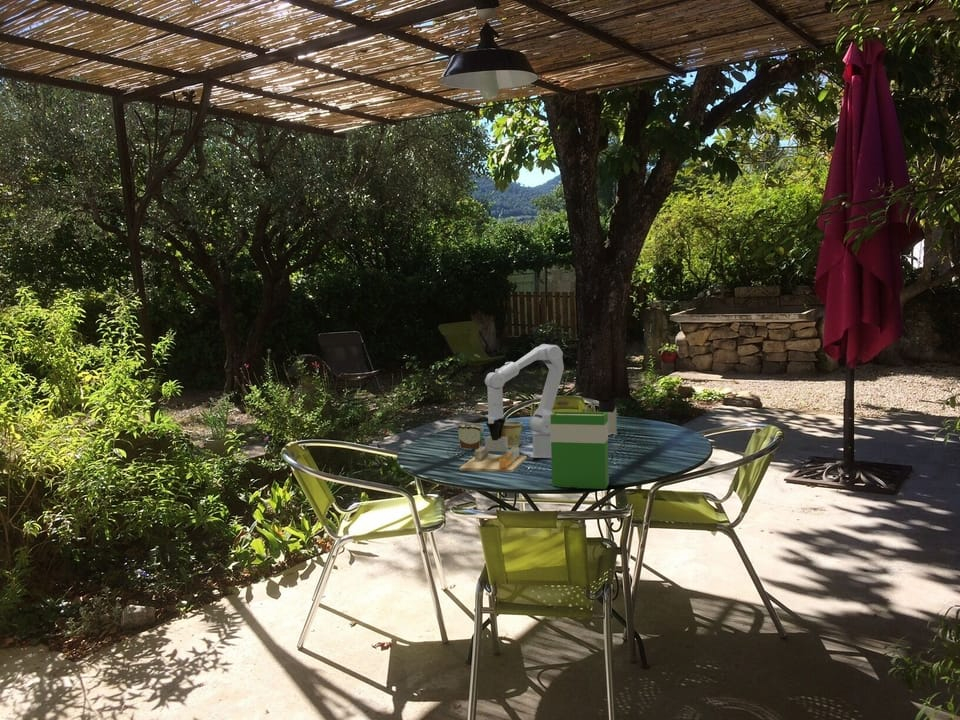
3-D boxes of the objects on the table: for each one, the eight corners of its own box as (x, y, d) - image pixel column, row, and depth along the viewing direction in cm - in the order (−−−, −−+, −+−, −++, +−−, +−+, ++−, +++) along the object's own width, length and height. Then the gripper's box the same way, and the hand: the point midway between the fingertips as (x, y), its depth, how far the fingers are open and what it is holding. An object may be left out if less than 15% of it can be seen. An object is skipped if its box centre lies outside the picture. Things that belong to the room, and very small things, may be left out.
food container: (489, 447, 317) (489, 424, 317) (482, 450, 312) (481, 426, 311) (464, 445, 324) (464, 422, 323) (457, 448, 318) (456, 424, 318)
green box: (552, 486, 250) (550, 415, 248) (556, 481, 257) (555, 411, 255) (605, 489, 245) (604, 415, 243) (608, 483, 252) (607, 412, 250)
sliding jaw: (519, 456, 293) (519, 447, 292) (506, 467, 274) (505, 458, 273) (513, 455, 293) (512, 447, 293) (499, 467, 274) (499, 458, 274)
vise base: (526, 458, 294) (526, 446, 294) (512, 472, 272) (511, 459, 272) (477, 457, 300) (477, 445, 299) (459, 470, 278) (459, 457, 277)
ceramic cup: (521, 449, 312) (520, 425, 311) (497, 448, 314) (496, 425, 313) (525, 442, 325) (524, 419, 324) (502, 442, 327) (501, 419, 326)
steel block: (507, 449, 291) (507, 436, 290) (505, 451, 287) (504, 438, 286) (487, 448, 293) (487, 436, 292) (484, 450, 289) (484, 437, 289)
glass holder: (619, 435, 334) (618, 402, 332) (587, 436, 334) (586, 403, 333) (616, 432, 342) (615, 399, 341) (584, 433, 343) (584, 400, 341)
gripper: (490, 401, 296) (491, 435, 298) (479, 406, 283) (481, 442, 284) (507, 401, 294) (509, 435, 295) (498, 406, 280) (499, 443, 282)
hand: (496, 439), depth 289 cm, fingers closed on steel block, 4 cm apart
